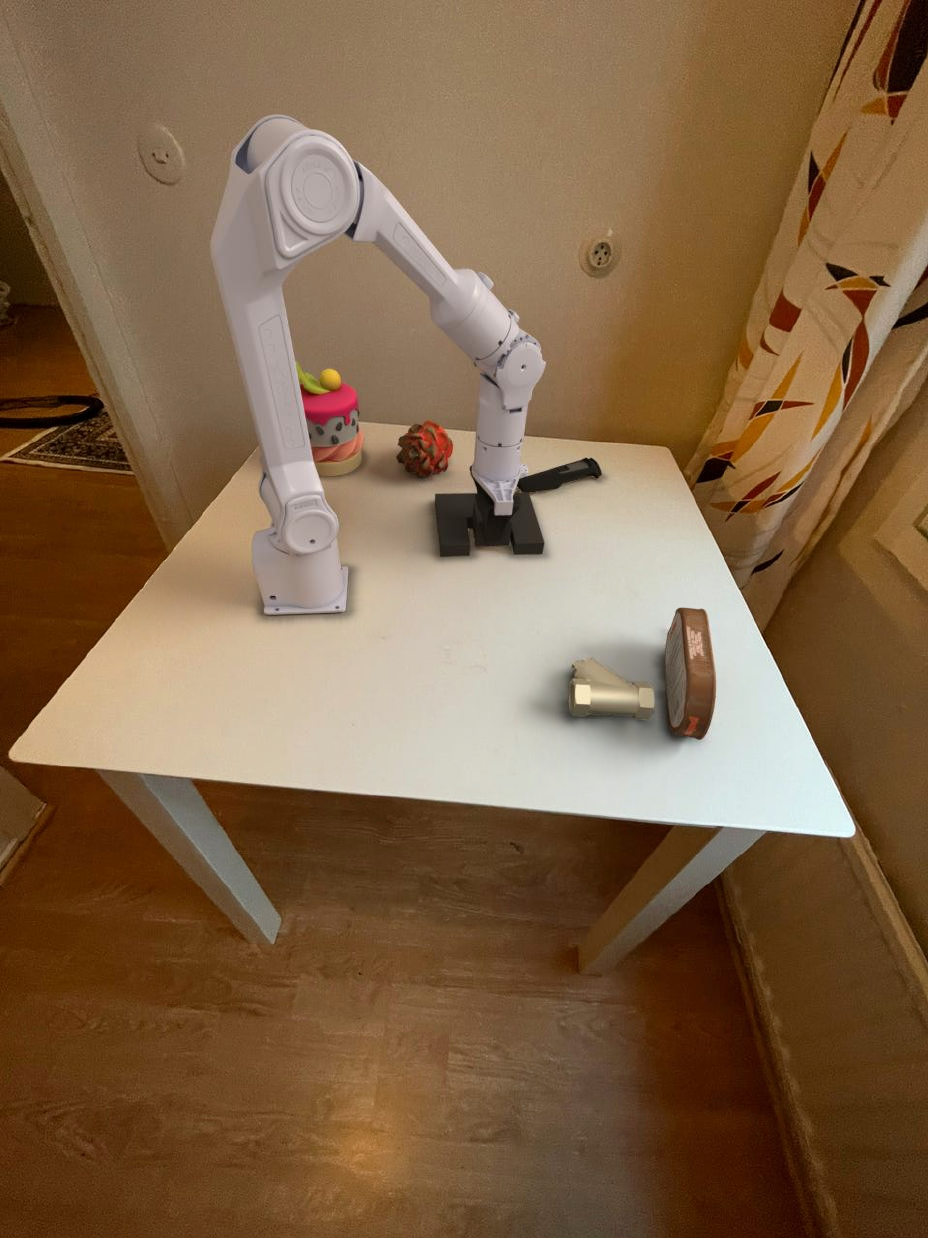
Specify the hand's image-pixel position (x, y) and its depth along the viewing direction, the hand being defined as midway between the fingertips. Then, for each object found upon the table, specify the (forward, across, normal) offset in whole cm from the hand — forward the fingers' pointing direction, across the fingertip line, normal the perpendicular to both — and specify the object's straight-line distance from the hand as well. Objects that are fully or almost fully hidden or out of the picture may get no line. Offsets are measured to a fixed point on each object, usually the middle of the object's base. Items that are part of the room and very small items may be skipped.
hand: (490, 527), depth 76 cm
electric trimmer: (+2, +14, -13) cm, 19 cm away
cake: (+3, +22, +23) cm, 32 cm away
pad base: (+2, +3, 0) cm, 4 cm away
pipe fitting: (+3, -27, -9) cm, 29 cm away
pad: (+1, 0, 0) cm, 1 cm away
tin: (+3, -27, -17) cm, 32 cm away
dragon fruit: (+3, +19, +8) cm, 21 cm away
